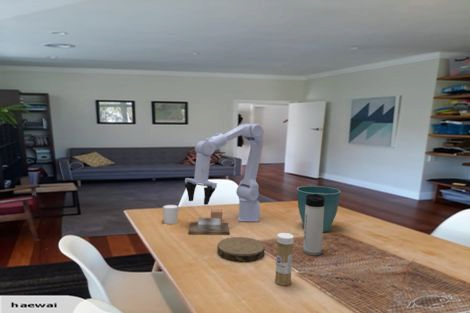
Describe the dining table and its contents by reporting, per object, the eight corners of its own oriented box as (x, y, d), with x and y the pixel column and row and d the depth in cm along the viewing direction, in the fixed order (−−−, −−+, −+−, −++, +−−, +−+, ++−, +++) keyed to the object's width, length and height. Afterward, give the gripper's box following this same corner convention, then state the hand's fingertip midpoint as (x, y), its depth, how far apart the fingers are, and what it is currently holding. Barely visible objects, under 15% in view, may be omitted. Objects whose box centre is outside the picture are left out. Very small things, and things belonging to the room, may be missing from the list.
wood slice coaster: (258, 266, 101) (258, 257, 100) (210, 259, 105) (210, 250, 105) (268, 248, 116) (268, 240, 116) (225, 242, 120) (226, 234, 120)
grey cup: (180, 220, 145) (180, 205, 145) (176, 224, 139) (176, 208, 138) (165, 219, 146) (165, 204, 145) (160, 223, 139) (160, 207, 139)
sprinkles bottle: (271, 282, 90) (273, 234, 89) (280, 276, 93) (282, 231, 92) (285, 287, 87) (288, 239, 86) (294, 282, 91) (296, 235, 89)
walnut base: (228, 225, 140) (228, 217, 140) (229, 234, 128) (229, 225, 128) (190, 225, 139) (190, 216, 139) (188, 234, 127) (188, 225, 127)
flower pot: (290, 231, 136) (292, 190, 134) (299, 220, 152) (301, 184, 151) (336, 237, 129) (338, 195, 127) (339, 225, 146) (341, 188, 144)
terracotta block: (221, 220, 148) (222, 209, 148) (222, 223, 143) (222, 212, 143) (210, 219, 148) (211, 209, 148) (210, 223, 143) (210, 212, 143)
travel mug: (322, 250, 115) (325, 194, 113) (320, 256, 109) (324, 198, 107) (304, 247, 117) (307, 192, 115) (301, 254, 111) (305, 196, 109)
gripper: (182, 167, 134) (178, 200, 134) (211, 172, 127) (207, 207, 128) (192, 167, 140) (188, 198, 141) (220, 172, 133) (217, 205, 134)
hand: (198, 202), depth 135 cm, fingers open, 7 cm apart
